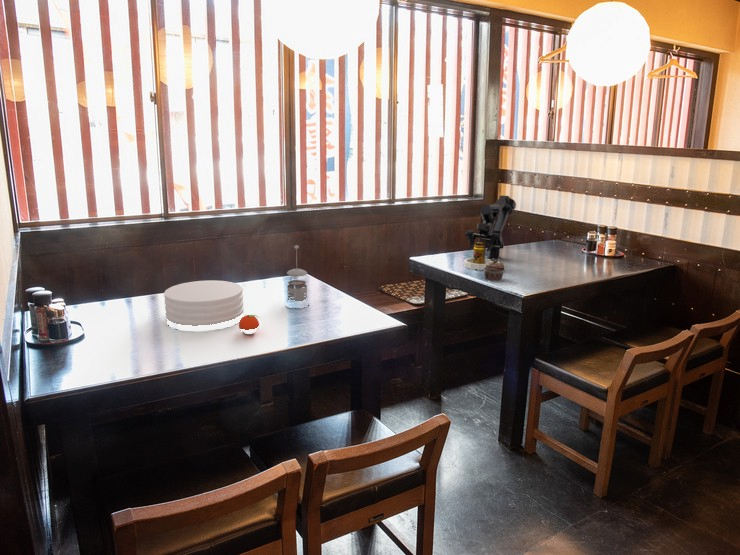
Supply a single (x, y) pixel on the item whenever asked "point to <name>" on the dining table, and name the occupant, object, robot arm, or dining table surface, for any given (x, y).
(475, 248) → the condiment
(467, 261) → the bowl
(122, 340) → the dining table surface
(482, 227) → the robot arm
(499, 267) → the cupcake
